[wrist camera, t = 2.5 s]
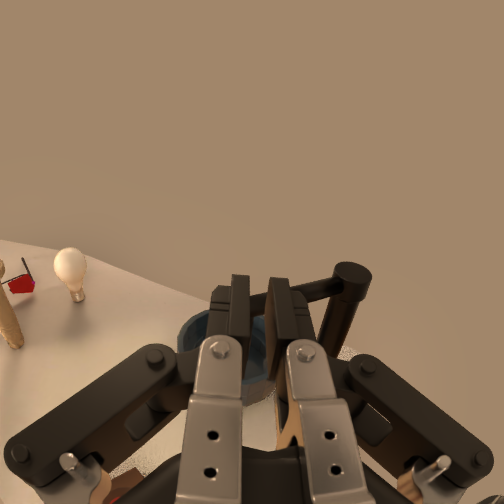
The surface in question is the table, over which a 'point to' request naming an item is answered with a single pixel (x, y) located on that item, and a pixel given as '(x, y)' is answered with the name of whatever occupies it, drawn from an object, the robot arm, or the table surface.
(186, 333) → the basin
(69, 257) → the lightbulb
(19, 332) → the handle
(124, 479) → the button block
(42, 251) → the table surface
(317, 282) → the spout
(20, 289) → the glasses
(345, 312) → the base
